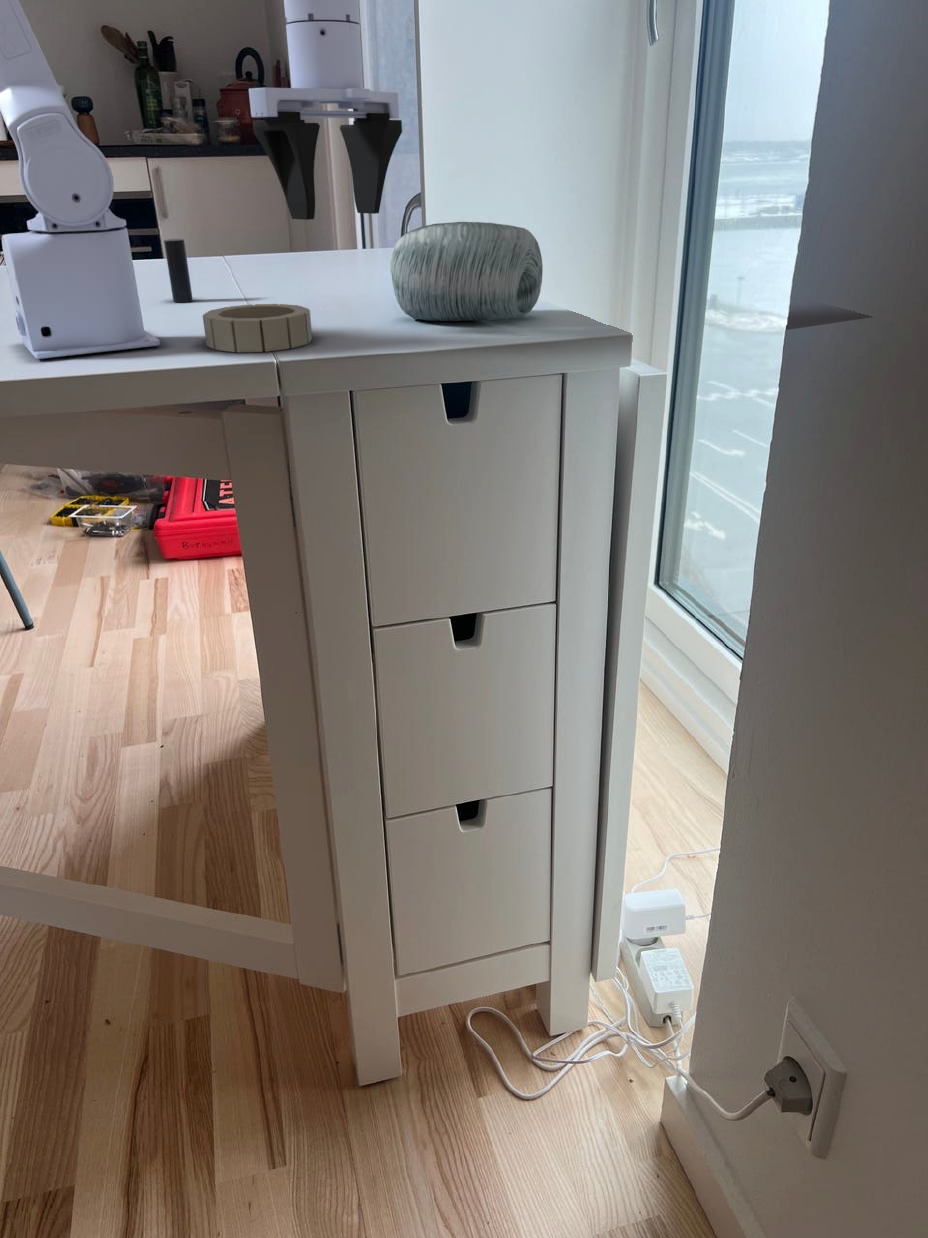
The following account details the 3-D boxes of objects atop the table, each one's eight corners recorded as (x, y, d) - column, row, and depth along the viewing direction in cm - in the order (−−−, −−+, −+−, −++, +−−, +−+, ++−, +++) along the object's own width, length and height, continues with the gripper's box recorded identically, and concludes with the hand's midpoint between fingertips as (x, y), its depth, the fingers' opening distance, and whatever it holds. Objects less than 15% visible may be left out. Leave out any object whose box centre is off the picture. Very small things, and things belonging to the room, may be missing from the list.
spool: (552, 271, 87) (526, 173, 80) (555, 335, 82) (528, 235, 74) (417, 306, 91) (379, 215, 83) (411, 369, 85) (371, 278, 78)
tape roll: (226, 356, 71) (221, 324, 70) (195, 339, 77) (191, 309, 76) (326, 344, 75) (324, 313, 74) (290, 329, 81) (287, 300, 80)
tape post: (176, 303, 96) (166, 241, 93) (171, 300, 97) (161, 239, 95) (195, 301, 97) (186, 239, 94) (189, 298, 98) (181, 238, 95)
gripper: (286, 12, 64) (304, 223, 70) (423, 28, 74) (428, 211, 80) (222, 21, 68) (245, 220, 74) (361, 34, 78) (370, 209, 84)
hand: (336, 215), depth 78 cm, fingers open, 7 cm apart
